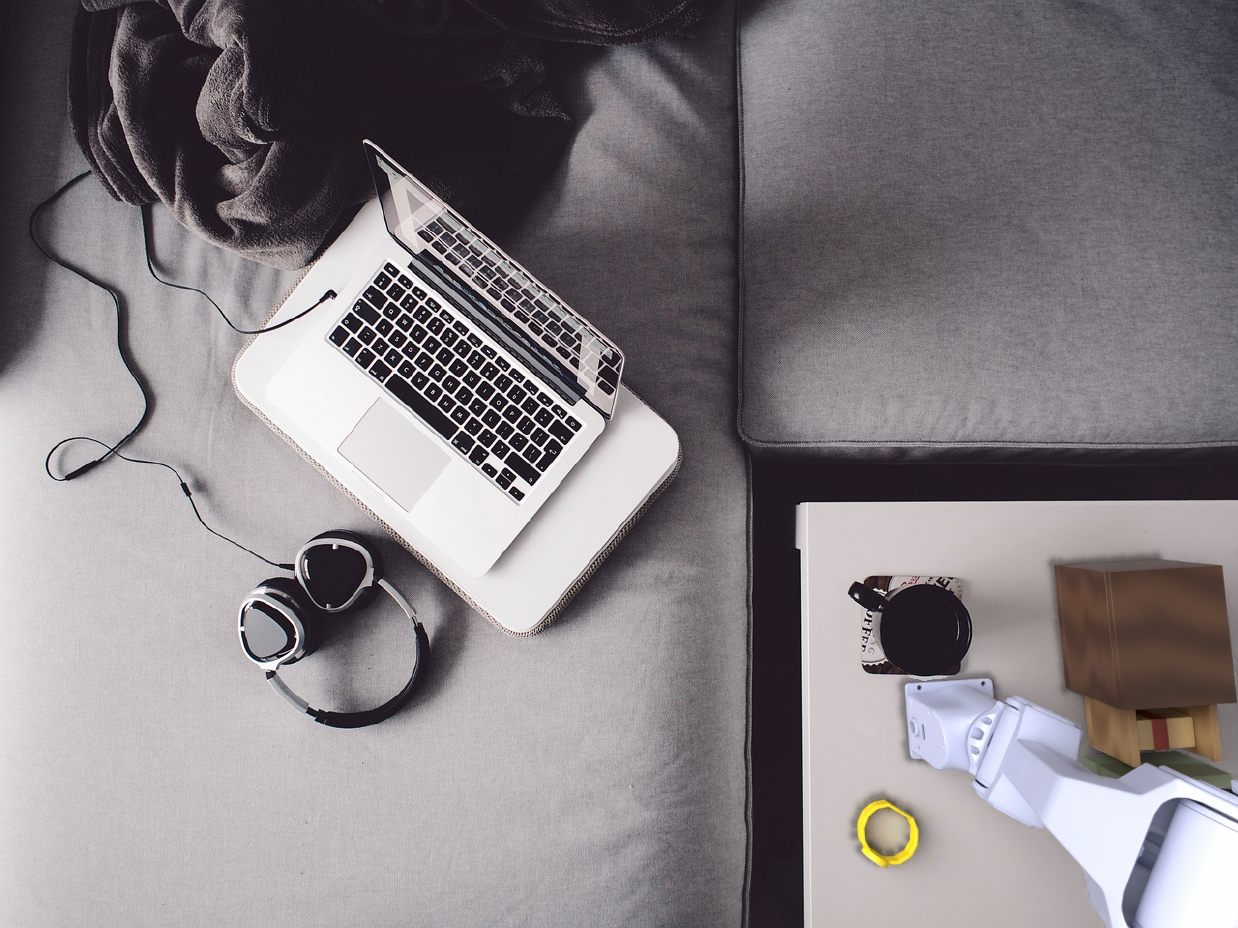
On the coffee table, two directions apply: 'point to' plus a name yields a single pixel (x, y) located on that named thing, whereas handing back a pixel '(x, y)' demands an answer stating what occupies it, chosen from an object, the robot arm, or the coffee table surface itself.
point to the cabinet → (1146, 633)
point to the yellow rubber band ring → (874, 855)
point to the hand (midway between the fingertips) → (1178, 827)
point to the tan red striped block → (1164, 729)
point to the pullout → (1120, 742)
